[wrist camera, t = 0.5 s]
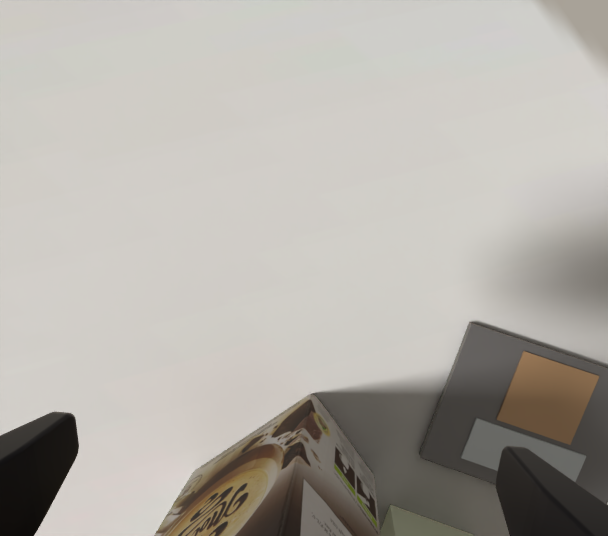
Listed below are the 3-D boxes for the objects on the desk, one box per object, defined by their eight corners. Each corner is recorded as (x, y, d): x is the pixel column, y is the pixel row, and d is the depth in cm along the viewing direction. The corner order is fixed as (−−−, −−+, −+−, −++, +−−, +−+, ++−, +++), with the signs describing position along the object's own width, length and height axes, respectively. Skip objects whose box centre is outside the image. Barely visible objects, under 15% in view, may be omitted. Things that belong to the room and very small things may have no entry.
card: (594, 515, 23) (600, 521, 23) (419, 453, 24) (421, 458, 23) (653, 383, 22) (661, 386, 22) (469, 321, 23) (472, 323, 22)
